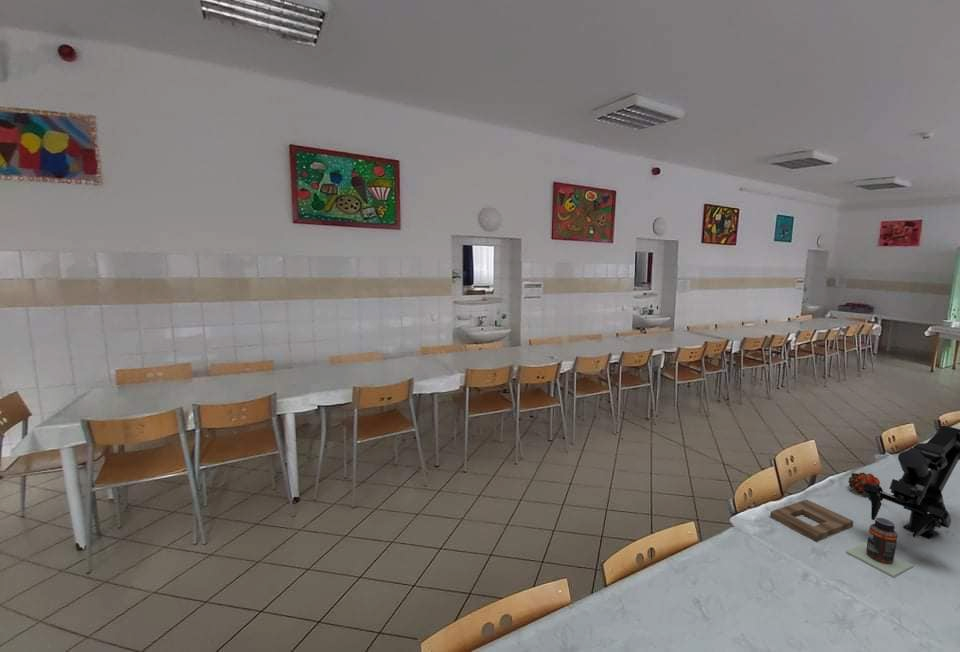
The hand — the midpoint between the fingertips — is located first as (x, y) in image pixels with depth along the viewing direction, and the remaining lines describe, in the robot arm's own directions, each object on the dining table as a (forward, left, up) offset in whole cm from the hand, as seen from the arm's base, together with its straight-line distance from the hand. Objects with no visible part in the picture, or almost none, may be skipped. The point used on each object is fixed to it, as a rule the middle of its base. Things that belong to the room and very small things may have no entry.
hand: (892, 527), depth 125 cm
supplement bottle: (+6, 0, -8) cm, 10 cm away
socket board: (+4, -19, -8) cm, 21 cm away
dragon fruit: (-36, -22, -9) cm, 43 cm away
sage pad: (+6, 0, -8) cm, 10 cm away
